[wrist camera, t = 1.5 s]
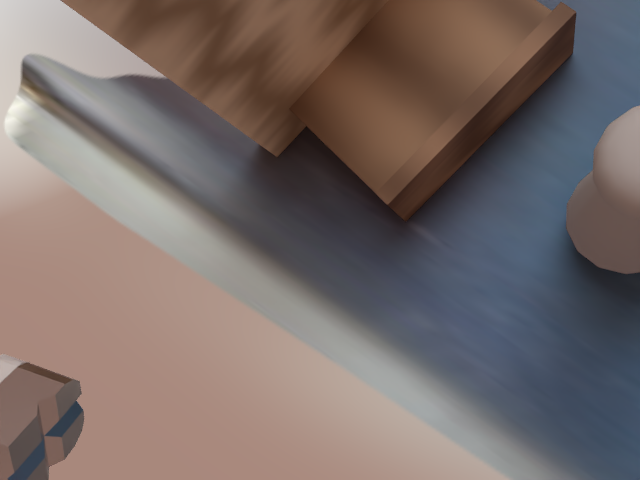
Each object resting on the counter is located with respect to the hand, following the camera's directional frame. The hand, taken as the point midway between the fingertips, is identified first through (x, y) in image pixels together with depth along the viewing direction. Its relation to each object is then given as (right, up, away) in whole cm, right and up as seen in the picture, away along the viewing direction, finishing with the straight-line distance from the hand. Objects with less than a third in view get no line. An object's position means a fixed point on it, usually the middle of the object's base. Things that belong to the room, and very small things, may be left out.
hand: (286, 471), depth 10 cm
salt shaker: (+17, +5, +22) cm, 28 cm away
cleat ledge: (+8, +14, +27) cm, 31 cm away
